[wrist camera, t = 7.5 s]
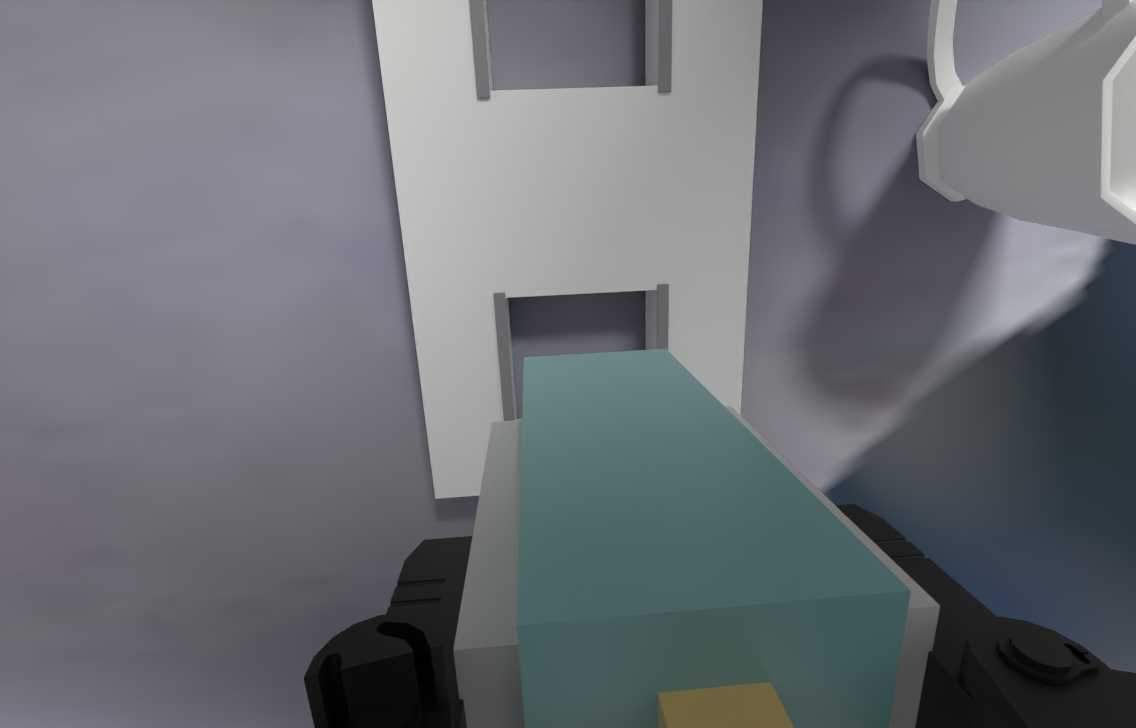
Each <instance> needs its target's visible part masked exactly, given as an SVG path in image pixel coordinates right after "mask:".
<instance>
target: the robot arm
mask: <svg viewBox="0 0 1136 728" xmlns="http://www.w3.org/2000/svg"><path fill="white" fill-rule="evenodd" d="M725 407H726V408H727V409H728V410H729V411H730V412H731V413H732V414H733V415H734V416H735V417H736V418H737V419H738V420H739V421H740V422H741V423H742V424H743V425H744V426H745V427H746V428H747V429H748V430H749V431H750V432H751V433H752V434H753V435H754V436H755V437H756V438H757V439H758V440H759V441H760V442H761V443H762V444H763V445H764V446H765V447H766V448H767V449H768V450H769V451H770V452H771V453H772V454H773V455H774V456H775V457H776V458H777V459H778V460H779V461H780V462H781V463H782V464H783V465H784V466H785V467H786V468H787V469H788V470H789V471H790V472H791V473H792V474H793V475H794V476H796V477H797V478H798V479H799V480H800V481H801V482H802V483H803V484H804V485H805V486H806V487H807V488H808V489H809V490H810V491H811V492H812V493H813V494H814V495H815V496H816V497H817V498H818V499H819V500H820V501H821V502H822V503H823V504H824V505H825V506H826V507H827V508H828V509H829V510H830V511H831V512H832V513H833V514H834V515H835V516H836V517H837V518H838V519H839V520H840V521H841V522H842V523H843V524H844V525H845V526H846V527H847V528H848V529H849V530H850V531H851V532H852V533H853V534H854V535H855V536H856V537H857V538H858V539H859V540H860V541H861V542H862V543H863V544H864V545H865V546H866V547H867V548H868V549H869V550H870V551H871V552H873V553H874V554H875V555H876V556H877V557H878V558H879V559H880V560H881V561H882V562H883V563H884V564H885V565H886V566H887V567H888V568H889V569H890V570H891V571H892V572H893V573H894V574H895V575H896V576H897V577H898V578H899V579H900V580H901V581H902V582H903V583H904V584H905V585H906V586H907V587H908V588H909V589H910V590H911V594H910V601H909V607H908V613H907V619H906V625H905V632H904V638H903V644H902V650H901V656H900V663H899V669H898V675H897V681H896V687H895V694H894V700H893V706H892V712H891V718H890V725H889V728H1136V673H1131V672H1124V671H1118V670H1111V669H1110V668H1109V667H1108V666H1107V665H1106V664H1105V663H1103V662H1102V661H1100V660H1099V659H1098V658H1097V657H1096V656H1094V655H1093V654H1092V653H1091V652H1089V651H1088V650H1087V649H1085V648H1084V647H1083V646H1082V645H1080V644H1078V643H1076V642H1074V641H1072V640H1070V639H1068V638H1067V637H1065V636H1063V635H1061V634H1059V633H1057V632H1055V631H1053V630H1050V629H1047V628H1045V627H1042V626H1039V625H1036V624H1033V623H1031V622H1028V621H1024V620H1017V619H1011V618H1006V617H997V616H996V615H994V614H993V613H992V612H991V611H990V610H988V609H987V608H986V607H985V606H984V605H983V604H981V602H979V601H978V600H977V599H976V598H975V597H974V596H972V595H971V594H970V593H969V592H968V591H967V590H965V589H964V588H963V587H962V586H961V585H960V584H958V583H957V582H956V581H955V580H954V579H953V578H951V577H950V576H949V575H948V574H947V573H946V572H944V571H943V570H942V569H941V568H940V567H939V566H937V565H936V564H935V563H934V562H933V561H932V560H931V559H929V558H925V557H924V554H923V553H922V552H921V551H920V550H919V549H918V548H917V547H915V546H914V545H913V544H912V543H911V542H906V540H905V537H904V536H903V535H901V534H900V533H899V532H898V531H897V530H896V529H894V528H893V527H892V526H891V525H890V524H889V523H888V522H886V521H885V520H884V519H883V518H880V517H878V516H877V515H875V514H873V513H871V512H869V511H867V510H865V509H863V508H861V507H859V506H857V505H855V504H847V505H834V504H833V503H832V502H831V501H830V500H829V499H828V498H827V497H826V496H825V495H824V494H822V493H821V492H820V491H819V490H818V489H817V488H816V487H815V486H814V485H813V484H812V483H811V482H810V481H809V480H808V479H807V478H806V477H805V476H804V475H803V474H801V473H800V472H799V471H798V470H797V469H796V468H795V467H794V466H793V465H792V464H791V463H790V462H789V461H788V460H787V459H786V458H785V457H784V456H783V455H782V454H780V453H779V452H778V451H777V450H776V449H775V448H774V447H773V446H772V445H771V444H770V443H769V442H768V441H767V440H766V439H765V438H764V437H763V436H762V435H761V434H759V433H758V432H757V431H756V430H755V429H754V428H753V427H752V426H751V425H750V424H749V423H748V422H747V421H746V420H745V419H744V418H743V417H742V416H741V415H740V414H738V413H737V412H736V411H735V410H734V409H733V408H732V407H731V406H725ZM521 439H522V420H512V421H497V422H492V424H491V430H490V436H489V442H488V448H487V454H486V460H485V466H484V471H483V477H482V483H481V489H480V495H479V501H478V507H477V513H476V519H475V525H474V531H473V536H468V537H455V538H443V539H430V540H424V541H423V542H422V543H421V544H420V545H419V546H418V547H417V548H416V549H415V550H414V551H413V552H412V553H411V554H410V555H409V556H408V557H407V559H406V560H405V562H404V565H403V568H402V571H401V573H400V576H399V579H398V582H397V587H396V588H395V591H394V593H393V596H392V599H391V606H390V607H389V608H388V610H387V613H386V615H379V616H376V617H373V618H370V619H368V620H365V621H362V622H359V623H356V624H354V625H352V626H351V627H349V628H347V629H346V630H344V631H343V632H341V633H339V634H338V635H336V636H335V637H333V638H332V639H331V640H330V641H329V642H328V643H327V644H326V645H325V646H324V647H323V648H322V649H321V650H320V651H319V652H318V653H317V654H316V655H315V656H314V658H313V660H312V662H311V664H310V666H309V668H308V670H307V672H306V675H305V677H304V682H305V686H306V691H307V695H308V700H309V704H310V709H311V713H312V718H313V722H314V726H315V728H525V721H524V710H523V698H522V686H521V674H520V662H519V650H518V638H517V588H518V551H519V513H520V476H521Z"/></svg>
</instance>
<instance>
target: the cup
mask: <svg viewBox="0 0 1136 728" xmlns="http://www.w3.org/2000/svg"><path fill="white" fill-rule="evenodd" d="M956 7H957V0H931V5H930V15H929V24H928V41H927V63H928V72H929V82H930V86H931V88H932V90H933V93H934V95H935V97H936V99H937V103H936V104H935V106H934V107H933V109H932V110H931V112H930V113H929V115H928V116H927V118H926V119H925V121H924V122H923V124H922V125H921V127H920V128H919V130H918V131H917V133H916V142H917V155H918V168H919V179H920V180H921V181H922V182H924V183H925V184H927V185H928V186H930V187H931V188H932V189H934V190H935V191H937V192H938V193H940V194H941V195H942V196H944V197H945V198H947V199H948V200H950V201H951V202H958V201H962V200H965V199H968V200H970V201H971V202H973V203H974V204H976V205H979V206H982V207H984V208H987V209H990V210H993V211H996V212H998V213H1001V214H1004V215H1007V216H1010V217H1012V218H1015V219H1018V220H1022V221H1027V222H1032V223H1037V224H1042V225H1047V226H1052V227H1057V228H1063V229H1068V230H1073V231H1078V232H1083V233H1087V234H1091V235H1096V236H1100V237H1105V238H1109V239H1113V240H1118V241H1122V242H1127V243H1132V244H1136V0H1102V8H1101V9H1099V10H1097V11H1095V12H1093V13H1091V14H1089V15H1087V16H1085V17H1083V18H1081V19H1079V20H1077V21H1075V22H1073V23H1071V24H1069V25H1067V26H1065V27H1063V28H1061V29H1059V30H1057V31H1055V32H1053V33H1051V34H1049V35H1047V36H1045V37H1043V38H1041V39H1039V40H1037V41H1035V42H1033V43H1031V44H1029V45H1027V46H1025V47H1023V48H1021V49H1019V50H1017V51H1015V52H1013V53H1012V54H1010V55H1009V56H1007V57H1006V58H1004V59H1002V60H1001V61H999V62H998V63H996V64H995V65H993V66H992V67H990V68H989V69H987V70H986V71H984V72H983V73H981V74H980V75H978V76H977V77H975V78H974V79H972V80H971V81H969V82H968V84H967V85H964V86H962V84H961V82H960V80H959V78H958V76H957V74H956V72H955V70H954V55H953V32H954V23H955V14H956Z"/></svg>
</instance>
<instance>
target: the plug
mask: <svg viewBox="0 0 1136 728" xmlns="http://www.w3.org/2000/svg"><path fill="white" fill-rule="evenodd" d="M910 594H911V590H910V589H909V588H908V587H907V586H906V585H905V584H904V583H903V582H902V581H901V580H900V579H899V578H898V577H897V576H896V575H895V574H894V573H893V572H892V571H891V570H890V569H889V568H888V567H887V566H886V565H885V564H884V563H883V562H882V561H881V560H880V559H879V558H878V557H877V556H876V555H875V554H874V553H873V552H871V551H870V550H869V549H868V548H867V547H866V546H865V545H864V544H863V543H862V542H861V541H860V540H859V539H858V538H857V537H856V536H855V535H854V534H853V533H852V532H851V531H850V530H849V529H848V528H847V527H846V526H845V525H844V524H843V523H842V522H841V521H840V520H839V519H838V518H837V517H836V516H835V515H834V514H833V513H832V512H831V511H830V510H829V509H828V508H827V507H826V506H825V505H824V504H823V503H822V502H821V501H820V500H819V499H818V498H817V497H816V496H815V495H814V494H813V493H812V492H811V491H810V490H809V489H808V488H807V487H806V486H805V485H804V484H803V483H802V482H801V481H800V480H799V479H798V478H797V477H796V476H794V475H793V474H792V473H791V472H790V471H789V470H788V469H787V468H786V467H785V466H784V465H783V464H782V463H781V462H780V461H779V460H778V459H777V458H776V457H775V456H774V455H773V454H772V453H771V452H770V451H769V450H768V449H767V448H766V447H765V446H764V445H763V444H762V443H761V442H760V441H759V440H758V439H757V438H756V437H755V436H754V435H753V434H752V433H751V432H750V431H749V430H748V429H747V428H746V427H745V426H744V425H743V424H742V423H741V422H740V421H739V420H738V419H737V418H736V417H735V416H734V415H733V414H732V413H731V412H730V411H729V410H728V409H727V408H726V407H725V406H724V405H723V404H722V403H721V402H720V401H719V400H717V399H716V398H715V397H714V396H713V395H712V394H711V393H710V392H709V391H708V390H707V389H706V388H705V387H704V386H703V385H702V384H701V383H700V382H699V381H698V380H697V379H696V378H695V377H694V376H693V375H692V374H691V373H690V372H689V371H688V370H687V369H686V368H685V367H684V366H683V365H682V364H681V363H680V362H679V361H678V360H677V359H676V358H675V357H674V356H673V355H672V354H671V353H670V352H669V351H668V350H667V349H652V350H636V351H619V352H602V353H585V354H569V355H552V356H535V357H524V364H523V401H522V439H521V476H520V513H519V551H518V588H517V638H518V650H519V662H520V674H521V686H522V698H523V710H524V721H525V728H889V725H890V718H891V712H892V706H893V700H894V694H895V687H896V681H897V675H898V669H899V663H900V656H901V650H902V644H903V638H904V632H905V625H906V619H907V613H908V607H909V601H910Z"/></svg>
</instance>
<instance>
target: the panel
mask: <svg viewBox="0 0 1136 728" xmlns="http://www.w3.org/2000/svg"><path fill="white" fill-rule="evenodd" d="M372 3H373V11H374V19H375V27H376V35H377V43H378V50H379V58H380V66H381V74H382V82H383V90H384V98H385V106H386V114H387V121H388V129H389V137H390V145H391V153H392V161H393V169H394V177H395V185H396V192H397V200H398V208H399V216H400V224H401V232H402V240H403V248H404V256H405V263H406V271H407V279H408V287H409V295H410V303H411V311H412V319H413V327H414V334H415V342H416V350H417V358H418V366H419V374H420V382H421V390H422V398H423V406H424V413H425V421H426V429H427V437H428V445H429V453H430V461H431V469H432V477H433V484H434V492H435V499H439V498H453V497H466V496H479V495H480V489H481V483H482V477H483V471H484V466H485V460H486V454H487V448H488V442H489V436H490V430H491V424H492V422H497V421H512V420H522V419H517V408H516V395H515V381H514V368H513V354H512V341H511V327H510V314H509V300H508V298H512V297H531V296H550V295H569V294H588V293H607V292H626V291H645V350H652V349H667V350H668V351H669V352H670V353H671V354H672V355H673V356H674V357H675V358H676V359H677V360H678V361H679V362H680V363H681V364H682V365H683V366H684V367H685V368H686V369H687V370H688V371H689V372H690V373H691V374H692V375H693V376H694V377H695V378H696V379H697V380H698V381H699V382H700V383H701V384H702V385H703V386H704V387H705V388H706V389H707V390H708V391H709V392H710V393H711V394H712V395H713V396H714V397H715V398H716V399H717V400H719V401H720V402H721V403H722V404H723V405H724V406H731V407H732V408H733V409H734V410H735V411H736V412H737V413H738V414H741V396H742V377H743V359H744V340H745V322H746V303H747V285H748V266H749V247H750V229H751V210H752V192H753V173H754V155H755V136H756V118H757V99H758V81H759V62H760V44H761V25H762V7H763V0H645V86H627V87H595V88H563V89H531V90H499V91H493V84H492V70H491V57H490V43H489V30H488V16H487V3H486V0H372Z"/></svg>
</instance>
